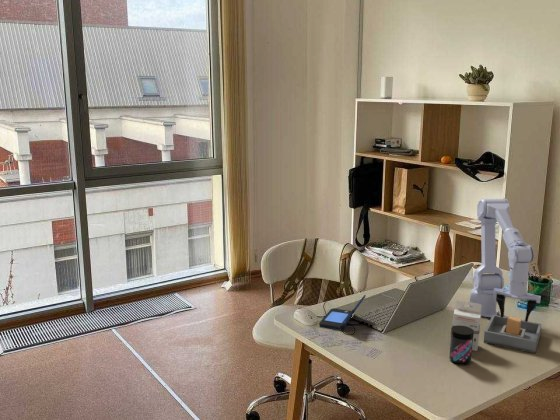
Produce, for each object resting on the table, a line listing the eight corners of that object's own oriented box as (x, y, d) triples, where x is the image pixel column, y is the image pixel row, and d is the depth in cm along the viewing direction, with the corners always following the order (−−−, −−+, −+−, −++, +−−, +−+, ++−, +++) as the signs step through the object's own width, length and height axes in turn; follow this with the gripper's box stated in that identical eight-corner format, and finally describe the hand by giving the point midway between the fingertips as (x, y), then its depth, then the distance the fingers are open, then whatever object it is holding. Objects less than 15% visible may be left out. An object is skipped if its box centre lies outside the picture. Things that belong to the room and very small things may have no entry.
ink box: (449, 346, 186) (453, 304, 183) (452, 340, 191) (455, 299, 187) (477, 351, 183) (480, 309, 180) (478, 345, 187) (482, 303, 184)
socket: (500, 337, 191) (500, 332, 190) (503, 330, 197) (503, 324, 196) (522, 342, 188) (522, 337, 187) (524, 334, 193) (525, 329, 193)
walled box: (483, 342, 189) (484, 331, 189) (491, 325, 203) (492, 314, 202) (535, 353, 182) (536, 342, 181) (540, 334, 195) (541, 323, 194)
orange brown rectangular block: (505, 336, 192) (507, 320, 190) (507, 332, 195) (508, 316, 194) (518, 339, 190) (519, 322, 188) (519, 335, 193) (521, 318, 192)
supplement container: (444, 360, 177) (447, 330, 175) (454, 353, 182) (457, 323, 179) (465, 368, 172) (468, 336, 170) (474, 360, 177) (477, 329, 175)
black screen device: (331, 311, 216) (332, 288, 214) (365, 317, 211) (366, 293, 209) (317, 327, 202) (318, 302, 200) (354, 333, 197) (354, 308, 194)
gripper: (493, 280, 188) (489, 318, 191) (540, 288, 181) (536, 327, 184) (496, 274, 194) (493, 311, 197) (542, 281, 187) (538, 319, 190)
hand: (514, 318), depth 191 cm, fingers open, 7 cm apart
